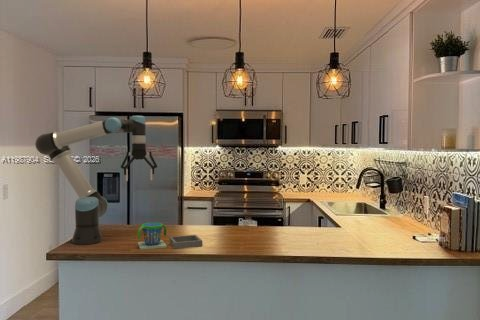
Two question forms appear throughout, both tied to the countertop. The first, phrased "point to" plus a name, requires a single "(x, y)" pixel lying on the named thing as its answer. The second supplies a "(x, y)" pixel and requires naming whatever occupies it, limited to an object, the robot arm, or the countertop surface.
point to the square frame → (185, 241)
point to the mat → (144, 246)
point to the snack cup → (152, 233)
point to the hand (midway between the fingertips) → (139, 180)
